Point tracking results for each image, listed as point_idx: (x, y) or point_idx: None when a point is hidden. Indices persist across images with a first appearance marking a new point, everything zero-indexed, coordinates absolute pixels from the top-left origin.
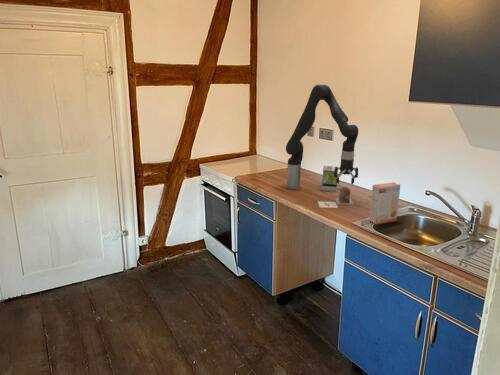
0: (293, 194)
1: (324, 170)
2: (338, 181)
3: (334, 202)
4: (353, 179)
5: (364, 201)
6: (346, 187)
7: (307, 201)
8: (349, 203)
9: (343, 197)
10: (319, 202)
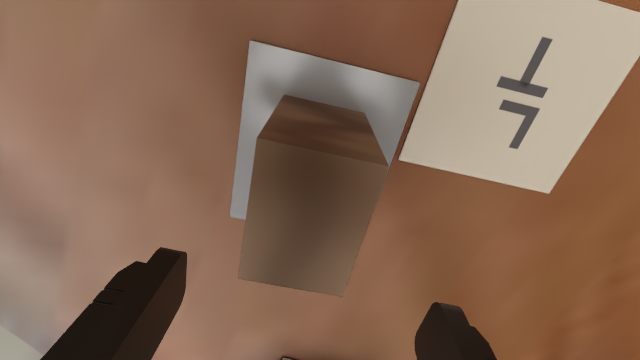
0: (600, 351)
1: None
2: (469, 342)
3: (416, 145)
4: (84, 344)
5: (114, 133)
6: (260, 280)
7: (624, 212)
8: (287, 81)
9: (351, 125)
10: (552, 166)
